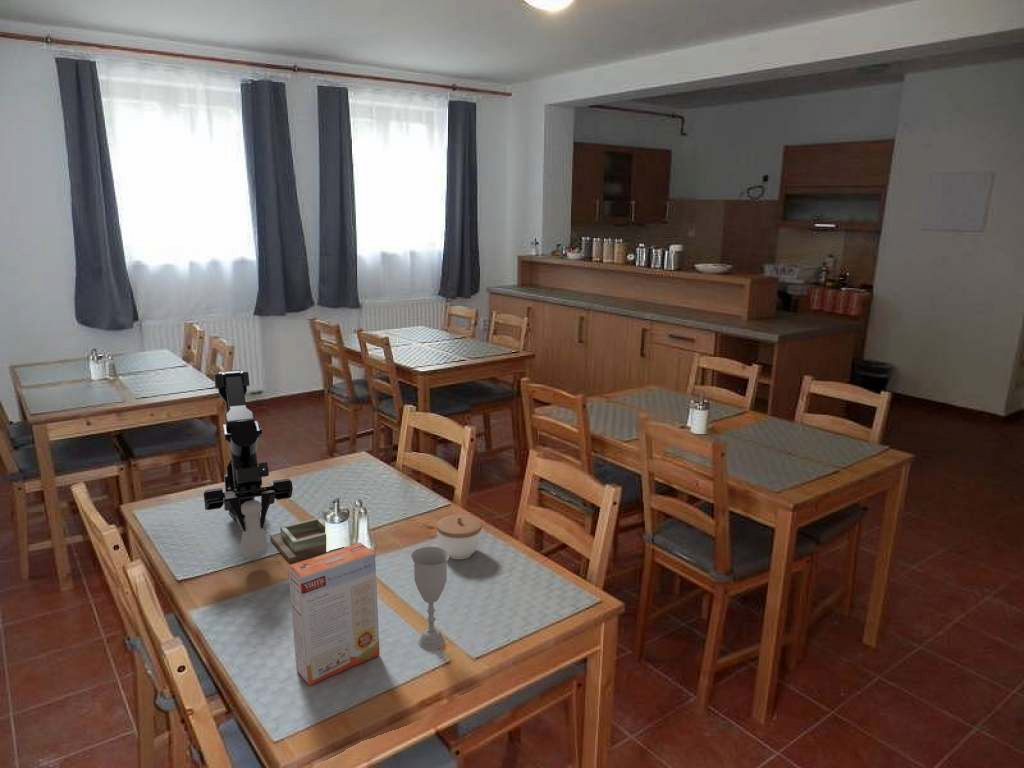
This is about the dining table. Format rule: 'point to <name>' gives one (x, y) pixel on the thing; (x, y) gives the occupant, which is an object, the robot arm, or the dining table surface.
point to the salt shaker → (253, 531)
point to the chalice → (430, 588)
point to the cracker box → (334, 611)
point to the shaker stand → (301, 539)
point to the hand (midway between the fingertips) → (253, 529)
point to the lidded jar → (459, 535)
